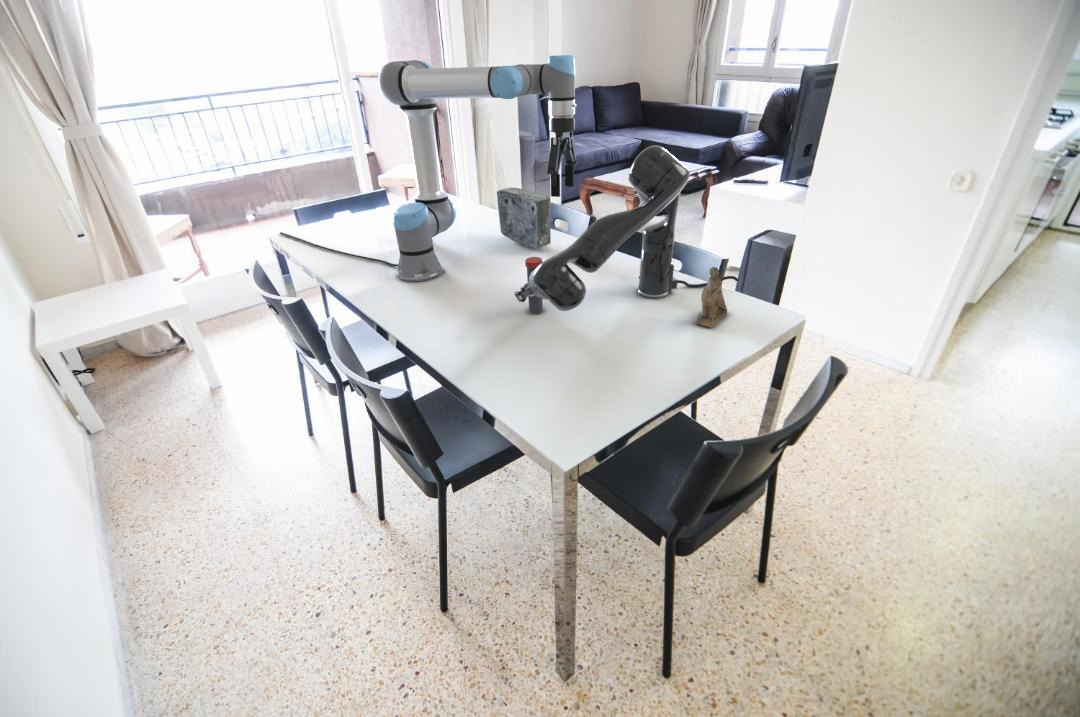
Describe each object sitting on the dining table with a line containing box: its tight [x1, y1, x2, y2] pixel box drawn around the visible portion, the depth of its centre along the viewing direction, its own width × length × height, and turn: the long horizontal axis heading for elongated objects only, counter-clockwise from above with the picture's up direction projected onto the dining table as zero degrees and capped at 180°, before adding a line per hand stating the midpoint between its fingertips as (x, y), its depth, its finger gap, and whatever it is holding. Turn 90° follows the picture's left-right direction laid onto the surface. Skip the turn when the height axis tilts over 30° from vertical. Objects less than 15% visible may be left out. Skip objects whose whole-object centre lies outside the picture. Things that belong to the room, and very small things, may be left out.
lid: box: [524, 256, 544, 268], centre depth 140 cm, size 5×5×2 cm
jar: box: [526, 267, 544, 315], centre depth 144 cm, size 4×4×16 cm
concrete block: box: [496, 187, 552, 249], centre depth 194 cm, size 27×9×20 cm, turn 36°
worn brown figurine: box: [695, 266, 728, 328], centre depth 135 cm, size 12×6×18 cm, turn 136°
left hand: (562, 191), depth 156 cm, fingers open, 13 cm apart
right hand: (538, 281), depth 126 cm, fingers open, 8 cm apart
